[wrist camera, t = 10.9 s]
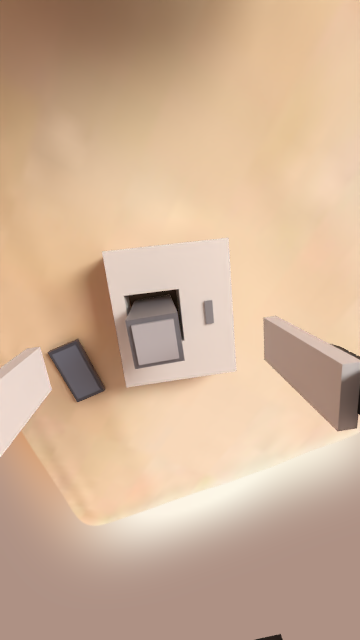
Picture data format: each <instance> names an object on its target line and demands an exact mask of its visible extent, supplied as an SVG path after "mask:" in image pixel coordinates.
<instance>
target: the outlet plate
mask: <svg viewBox="0 0 360 640" xmlns="http://www.w3.org/2000/svg"><path fill="white" fill-rule="evenodd" d="M102 255H103V260H104V266H105V271H106V277H107V282H108V288H109V293H110V299H111V305H112V310H113V316H114V321H115V327H116V332H117V338H118V343H119V349H120V355H121V360H122V366H123V371H124V377H125V382H126V387H133V386H140V385H147V384H153V383H160V382H167V381H173V380H180V379H187V378H194V377H200V376H207V375H214V374H221V373H227V372H234V371H236V355H235V338H234V322H233V305H232V288H231V271H230V254H229V238H221V239H212V240H203V241H194V242H185V243H176V244H167V245H158V246H148V247H139V248H130V249H121V250H112V251H103V252H102ZM175 289H176V294H177V303H178V312H179V321H180V329H181V330H180V332H181V339H182V346H183V353H184V359H185V361H180V362H174V363H168V364H162V365H157V366H151V367H145V368H139V369H135V366H134V362H133V357H132V352H131V347H130V342H129V337H128V332H127V327H126V322H125V320H126V318H127V316H128V314H129V312H130V310H131V307H130V301H129V295H134V294H142V293H150V292H158V291H167V290H175Z"/></svg>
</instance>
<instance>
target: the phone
mask: <svg viewBox="0 0 360 640" xmlns="http://www.w3.org/2000/svg"><path fill="white" fill-rule="evenodd" d="M48 354H49V355H50V357H51V359H52V360H53V362H54V364H55V365H56V367H57V369H58V370H59V372H60V374H61V376H62V377H63V379H64V381H65V382H66V384H67V386H68V387H69V389H70V391H71V392H72V394H73V396H74V397H75V399H76V401H77V402H79V401H82V400H84V399H87V398H89V397H91V396H94V395H96V394H98V393H101V392H103V391H104V390H105V387H104V385H103V383H102V381H101V380H100V378H99V376H98V374H97V372H96V371H95V369H94V367H93V365H92V363H91V361H90V360H89V358H88V356H87V354H86V352H85V351H84V349H83V347H82V345H81V343H80V341H79V340H78V339H76V340H74V341H72V342H69V343H67V344H65V345H62V346H60V347H57V348H55V349H53V350H50V351H49V352H48Z"/></svg>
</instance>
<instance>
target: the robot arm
mask: <svg viewBox="0 0 360 640" xmlns="http://www.w3.org/2000/svg"><path fill="white" fill-rule="evenodd" d="M264 360H265V361H266V362H267V363H268V364H270V365H271V366H272V367H273V368H274V369H275V370H276V371H277V372H278V373H279V374H280V375H281V376H282V377H283V378H284V379H285V380H286V381H287V382H288V383H289V384H290V385H291V386H292V387H293V388H294V389H295V390H296V391H297V392H298V393H299V394H300V395H301V396H302V397H303V398H304V399H305V400H306V401H307V402H308V403H309V404H310V405H311V406H312V407H313V408H314V409H315V410H316V411H318V412H319V413H320V414H321V415H322V416H323V417H324V418H325V419H326V420H327V421H328V422H329V423H330V424H331V425H332V426H333V427H334V428H335V429H336V430H337V431H342V430H348V429H355V428H357V422H358V414H359V415H360V356H356V354H354V353H352V352H349V351H348V350H346V349H344V348H342V347H340V346H336V345H333V344H329V343H327V342H325V341H323V340H321V339H319V338H317V337H315V336H313V335H312V334H310V333H308V332H306V331H304V330H302V329H300V328H298V327H296V326H294V325H292V324H290V323H289V322H287V321H285V320H283V319H281V318H279V317H277V316H271V317H264ZM51 390H52V388H51V385H50V381H49V377H48V374H47V370H46V366H45V363H44V359H43V356H42V352H41V348H40V347H35V348H27V349H25V350H24V351H22V352H21V353H20V354H18V355H17V356H16V357H14V358H13V359H12V360H10V361H9V362H8V363H6V364H5V365H3V366H2V367H1V368H0V457H1V456H2V455H3V453H4V452H5V451H6V449H7V448H8V447H9V445H10V444H11V443H12V441H13V440H14V439H15V438H16V436H17V435H18V433H19V432H20V431H21V430H22V428H23V427H24V426H25V424H26V423H27V422H28V420H29V419H30V418H31V416H32V415H33V414H34V412H35V411H36V410H37V409H38V407H39V406H40V405H41V403H42V402H43V401H44V399H45V398H46V397H47V395H48V394H49V393H50V391H51ZM256 640H282V637H281V634H280V635H274V636H270V637H265V638H260V639H256Z"/></svg>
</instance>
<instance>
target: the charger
mask: <svg viewBox="0 0 360 640" xmlns="http://www.w3.org/2000/svg"><path fill="white" fill-rule="evenodd" d="M125 322H126V327H127V332H128V337H129V342H130V347H131V352H132V357H133V362H134V366H135V369H139V368H145V367H151V366H157V365H162V364H168V363H174V362H180V361H185V359H184V353H183V346H182V339H181V332H180V326H179V319H178V312H177V310H176V308H175V306H174V303H173V301H172V299H171V296H170V295H163V296H157V297H151V298H144V299H138V300H135V301H134V303H133V305H132V307H131V310H130V312H129V314H128V316H127V318H126V320H125Z"/></svg>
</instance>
